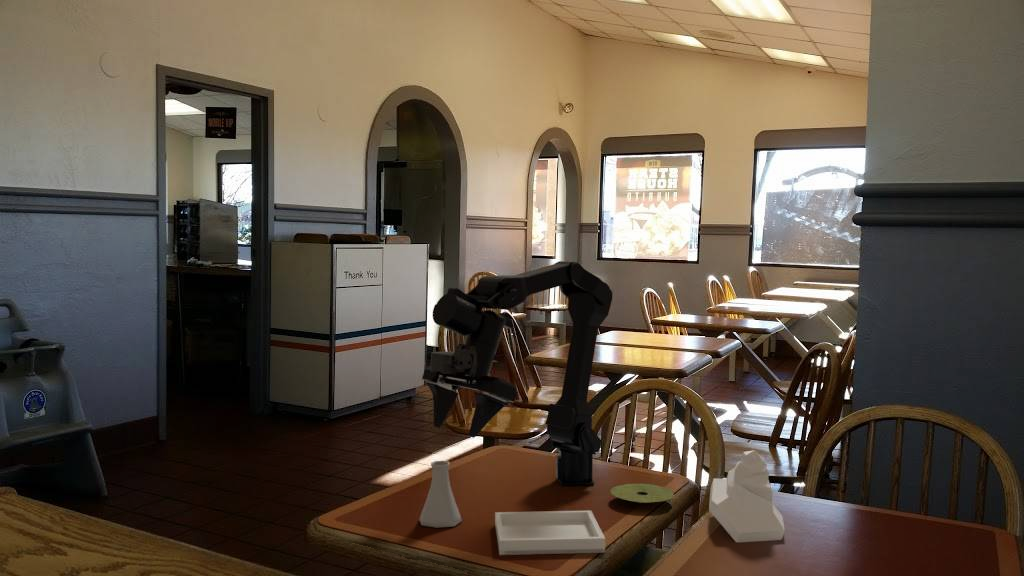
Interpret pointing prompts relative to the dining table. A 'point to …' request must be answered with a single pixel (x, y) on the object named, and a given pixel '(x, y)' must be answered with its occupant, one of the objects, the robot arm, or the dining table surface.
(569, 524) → the tray
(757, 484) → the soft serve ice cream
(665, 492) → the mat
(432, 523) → the flask
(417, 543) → the dining table surface
